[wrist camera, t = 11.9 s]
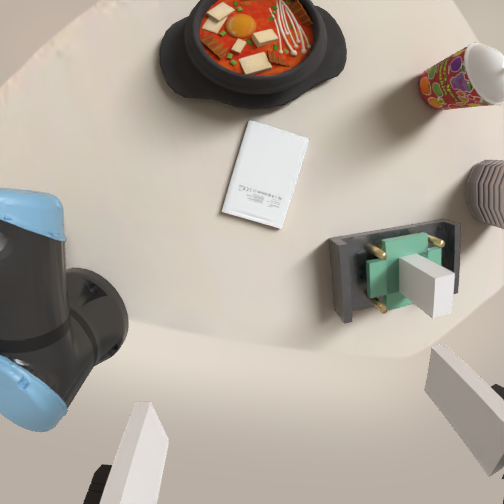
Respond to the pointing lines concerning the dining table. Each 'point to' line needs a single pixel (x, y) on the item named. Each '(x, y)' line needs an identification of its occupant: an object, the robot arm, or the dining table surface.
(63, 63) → the dining table surface
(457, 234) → the chassis
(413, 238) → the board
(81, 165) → the dining table surface
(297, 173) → the external hard drive
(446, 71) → the smoothie
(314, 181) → the dining table surface
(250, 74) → the casserole
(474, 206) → the can
